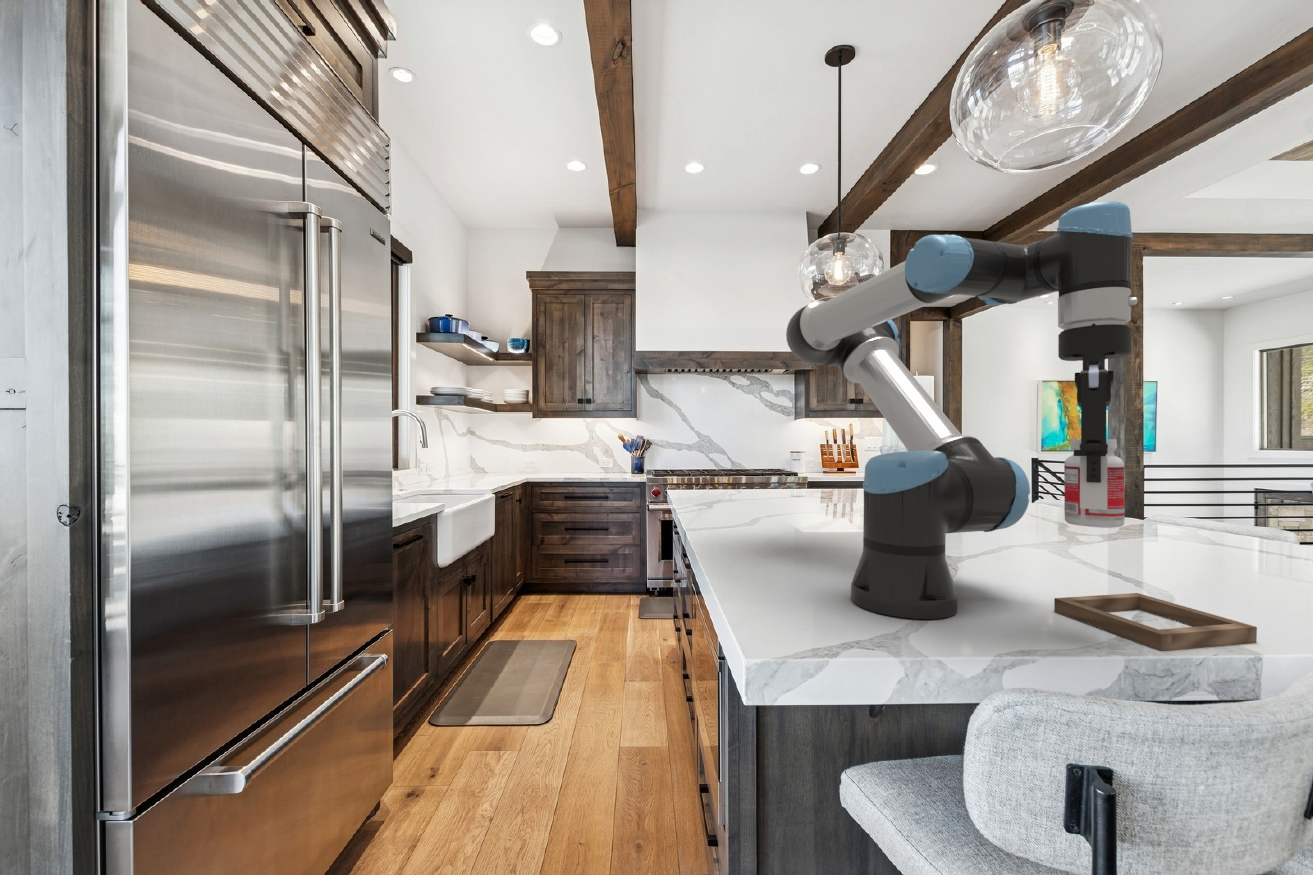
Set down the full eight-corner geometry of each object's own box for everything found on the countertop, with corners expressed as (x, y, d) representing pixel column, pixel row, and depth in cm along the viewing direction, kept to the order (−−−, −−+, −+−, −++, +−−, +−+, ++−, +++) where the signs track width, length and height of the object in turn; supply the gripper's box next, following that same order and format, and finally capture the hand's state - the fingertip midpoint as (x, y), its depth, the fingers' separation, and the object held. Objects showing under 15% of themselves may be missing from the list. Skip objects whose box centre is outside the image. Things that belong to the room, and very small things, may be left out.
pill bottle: (1133, 526, 73) (1133, 439, 73) (1110, 530, 70) (1110, 439, 70) (1078, 520, 78) (1078, 439, 78) (1054, 523, 75) (1054, 439, 75)
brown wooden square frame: (1161, 650, 70) (1161, 634, 70) (1054, 611, 85) (1054, 598, 85) (1256, 642, 73) (1256, 627, 73) (1137, 605, 88) (1137, 593, 88)
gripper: (1135, 310, 64) (1135, 516, 64) (1128, 334, 79) (1128, 501, 79) (1054, 319, 69) (1053, 511, 69) (1062, 340, 84) (1061, 497, 84)
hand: (1093, 505), depth 74 cm, fingers closed on pill bottle, 6 cm apart
